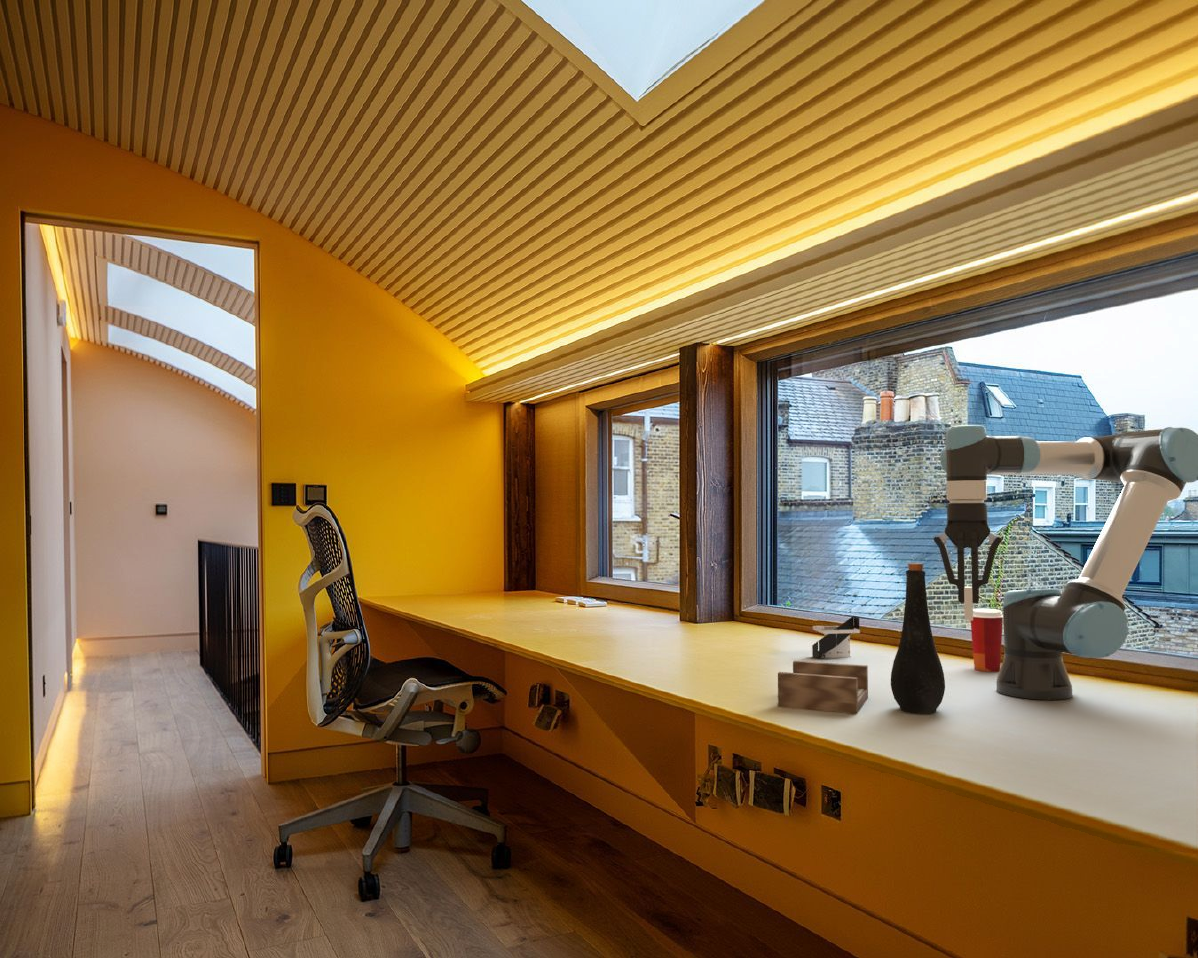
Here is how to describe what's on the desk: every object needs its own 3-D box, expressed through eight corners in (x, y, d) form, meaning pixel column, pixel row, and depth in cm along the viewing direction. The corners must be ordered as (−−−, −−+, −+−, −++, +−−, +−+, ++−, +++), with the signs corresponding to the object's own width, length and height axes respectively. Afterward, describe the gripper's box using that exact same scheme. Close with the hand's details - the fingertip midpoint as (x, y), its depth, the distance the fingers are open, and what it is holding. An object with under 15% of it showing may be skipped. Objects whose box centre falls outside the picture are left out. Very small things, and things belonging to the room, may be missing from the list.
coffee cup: (1007, 668, 225) (1006, 609, 225) (1002, 673, 218) (1001, 612, 218) (972, 665, 230) (971, 607, 230) (966, 670, 223) (965, 610, 223)
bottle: (950, 717, 174) (947, 565, 175) (894, 715, 177) (891, 565, 177) (940, 705, 185) (938, 562, 186) (887, 703, 187) (885, 561, 188)
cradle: (868, 697, 193) (867, 665, 193) (856, 713, 178) (856, 678, 178) (794, 691, 199) (794, 660, 199) (778, 706, 185) (777, 673, 185)
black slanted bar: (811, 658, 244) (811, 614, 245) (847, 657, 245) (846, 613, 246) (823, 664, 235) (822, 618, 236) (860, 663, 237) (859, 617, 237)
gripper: (1002, 501, 178) (1004, 618, 178) (933, 502, 184) (935, 615, 183) (1002, 501, 172) (1004, 623, 171) (930, 502, 177) (932, 620, 176)
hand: (968, 619), depth 177 cm, fingers closed
